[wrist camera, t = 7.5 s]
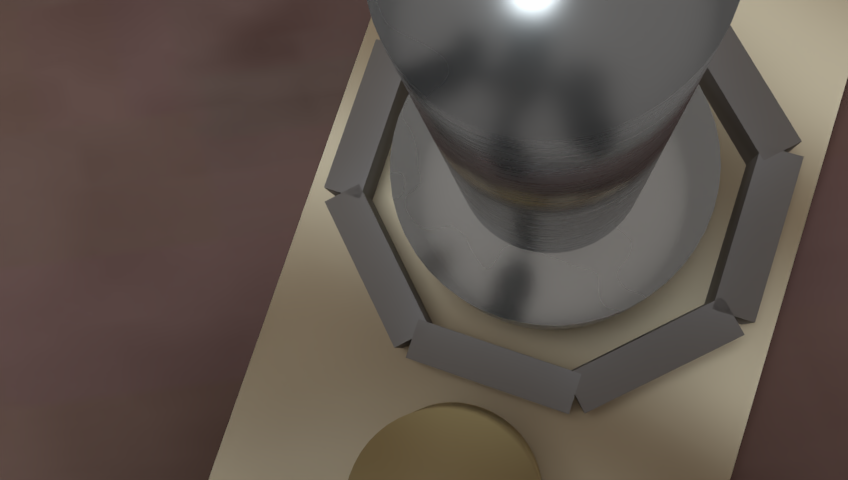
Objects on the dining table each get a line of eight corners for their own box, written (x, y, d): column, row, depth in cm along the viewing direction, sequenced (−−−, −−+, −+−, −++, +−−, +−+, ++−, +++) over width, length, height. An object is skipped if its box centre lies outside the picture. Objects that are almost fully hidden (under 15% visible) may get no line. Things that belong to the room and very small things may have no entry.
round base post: (760, 220, 16) (1072, 12, 7) (513, 387, 17) (458, 426, 7) (585, -4, 18) (627, -461, 8) (357, 154, 18) (122, -95, 8)
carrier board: (664, 658, 16) (691, 724, 14) (222, 484, 18) (160, 508, 15) (923, -224, 18) (996, -336, 15) (498, -305, 20) (491, -419, 17)
